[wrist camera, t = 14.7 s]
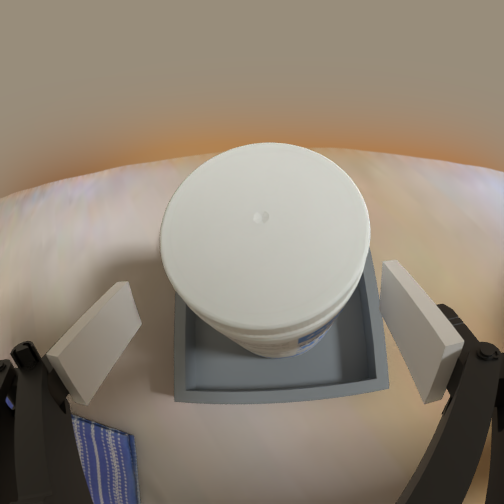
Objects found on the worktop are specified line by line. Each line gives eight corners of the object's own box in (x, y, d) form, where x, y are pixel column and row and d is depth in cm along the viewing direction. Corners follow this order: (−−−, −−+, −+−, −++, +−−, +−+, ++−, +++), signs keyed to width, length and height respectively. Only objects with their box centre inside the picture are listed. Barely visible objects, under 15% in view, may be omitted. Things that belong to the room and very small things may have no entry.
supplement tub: (320, 369, 22) (358, 364, 9) (213, 344, 24) (122, 304, 11) (341, 264, 26) (377, 152, 12) (242, 246, 28) (197, 133, 15)
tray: (352, 216, 28) (357, 199, 25) (377, 387, 21) (389, 388, 18) (191, 232, 30) (180, 217, 27) (188, 399, 23) (174, 401, 20)
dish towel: (10, 384, 26) (-4, 381, 23) (139, 429, 23) (124, 433, 20) (19, 483, 19) (7, 484, 16) (150, 550, 16) (139, 559, 13)
